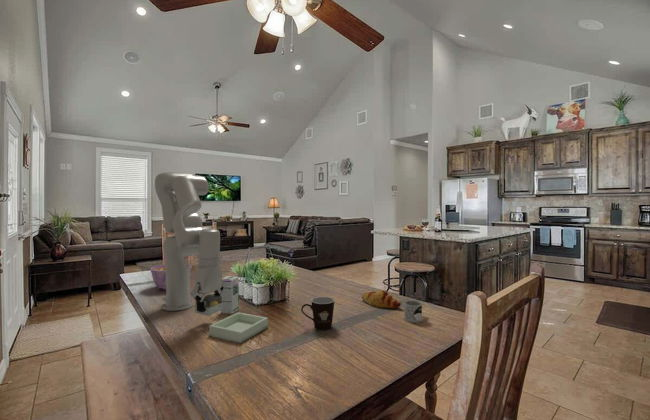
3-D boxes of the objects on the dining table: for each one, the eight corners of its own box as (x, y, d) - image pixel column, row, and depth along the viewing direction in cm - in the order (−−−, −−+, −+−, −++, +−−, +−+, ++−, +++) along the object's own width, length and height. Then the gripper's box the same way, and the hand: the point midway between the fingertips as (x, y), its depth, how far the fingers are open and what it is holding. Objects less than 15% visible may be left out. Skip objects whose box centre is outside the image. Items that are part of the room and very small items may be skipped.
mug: (416, 324, 120) (416, 307, 120) (401, 320, 125) (401, 303, 125) (428, 317, 128) (428, 300, 128) (413, 313, 132) (413, 297, 132)
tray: (209, 335, 111) (209, 325, 111) (238, 321, 124) (238, 312, 124) (241, 343, 105) (241, 332, 105) (268, 327, 118) (268, 317, 118)
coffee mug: (337, 324, 121) (337, 298, 121) (330, 332, 113) (330, 304, 113) (309, 320, 125) (308, 295, 124) (300, 328, 117) (300, 301, 116)
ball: (207, 304, 121) (210, 303, 119) (213, 300, 123) (217, 298, 122) (211, 311, 121) (215, 309, 119) (217, 306, 124) (221, 305, 122)
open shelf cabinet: (194, 312, 119) (194, 299, 119) (209, 306, 126) (209, 293, 126) (208, 316, 116) (208, 302, 116) (222, 309, 123) (223, 296, 123)
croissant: (358, 308, 150) (352, 294, 147) (369, 294, 156) (364, 281, 153) (397, 318, 135) (392, 304, 132) (408, 302, 141) (403, 288, 138)
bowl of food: (159, 284, 181) (159, 264, 181) (196, 283, 183) (195, 263, 183) (143, 294, 161) (143, 271, 161) (184, 293, 163) (184, 270, 163)
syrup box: (233, 314, 132) (232, 279, 132) (220, 313, 134) (219, 278, 133) (239, 309, 138) (239, 276, 138) (226, 308, 139) (226, 275, 139)
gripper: (218, 256, 130) (218, 299, 131) (183, 265, 114) (182, 313, 115) (232, 259, 126) (232, 302, 127) (198, 267, 111) (198, 317, 112)
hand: (208, 307), depth 121 cm, fingers closed on open shelf cabinet, 7 cm apart
